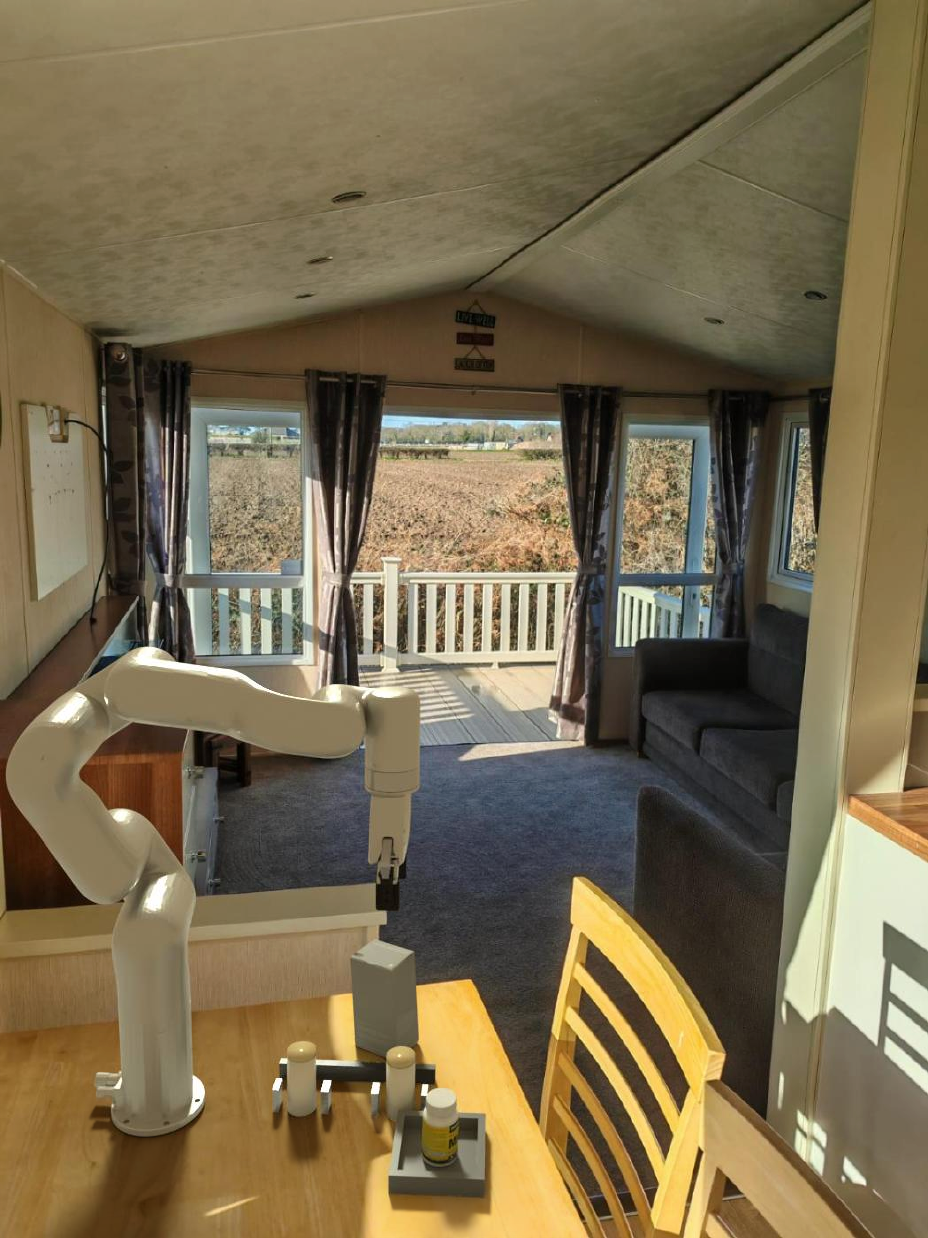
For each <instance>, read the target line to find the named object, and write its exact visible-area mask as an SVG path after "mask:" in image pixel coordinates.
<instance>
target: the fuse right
mask: <svg viewBox="0 0 928 1238" xmlns="http://www.w3.org/2000/svg"><path fill="white" fill-rule="evenodd" d="M385 1059H386V1061H385V1062H386V1083H385V1087H386V1088H385V1093H386V1094H385V1114H386V1117H387V1118H388V1119H389V1120H391V1121H394V1122H397V1116H398V1110H410V1111H416V1107H415V1106H416V1104H415V1101H416V1099H415V1098H416V1095H415V1094H416V1084H415V1064H416V1052H415V1050H413V1048H412V1047H411V1048H409V1047H406V1046H397V1047H394V1048H392V1049H390V1050H389V1051H388V1052H387V1058H385Z"/></svg>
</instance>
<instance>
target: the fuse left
mask: <svg viewBox="0 0 928 1238" xmlns="http://www.w3.org/2000/svg"><path fill="white" fill-rule="evenodd" d="M286 1058H287V1079H286V1081H287V1082H286V1110H287V1112H288V1113H289V1114H290V1115H291V1116H295V1117H305V1116H309V1115H311V1114H312V1113H313V1112H314V1111H315V1110H316V1108H317V1080H316V1060H317V1045H316V1044H314V1043H313V1042H310V1041H306V1040H302V1041H301V1040H300V1041H299V1040H298V1041H296V1042H293V1043H291V1044H290V1045H288V1047H287V1050H286Z"/></svg>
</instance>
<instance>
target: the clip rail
mask: <svg viewBox="0 0 928 1238" xmlns="http://www.w3.org/2000/svg"><path fill="white" fill-rule="evenodd" d="M278 1064H279V1066H278V1068H279V1069H278V1070H279V1072H278V1073H279V1078H276V1079H275V1082H274V1084H273V1087H272V1113H280V1110H281V1107H282V1106H281V1105H282V1103H283V1080H287V1057H286V1058H283V1057H282V1058H280V1061H279V1063H278ZM436 1069H437V1065H436V1064H435V1063H415V1085H422V1088H421V1094H420V1097H421V1098H420V1101H421V1102H420V1111H424V1109H425V1107H426V1096H427V1094H428V1093H429V1086H431V1085H432V1086H434V1085H436V1079H437V1078H436V1077H437V1076H436V1074H437V1071H436ZM316 1081H323V1083H322V1087H321V1090H320V1114H321V1115H329V1113H330V1109H331V1106H332V1105H331V1104H332V1081H333V1082H350V1083H351V1082H354V1083H355V1082H356V1083H372V1086H371V1087H372V1088H371V1091H370V1116H371V1117H379V1113H380V1107H381V1083H382V1084H386V1061H384V1062H382V1061H361V1060H360V1061H359V1060H358V1061H357V1060H356V1061H355V1060H336V1059H335V1060H334V1059H332V1060H331V1059H316Z"/></svg>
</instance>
